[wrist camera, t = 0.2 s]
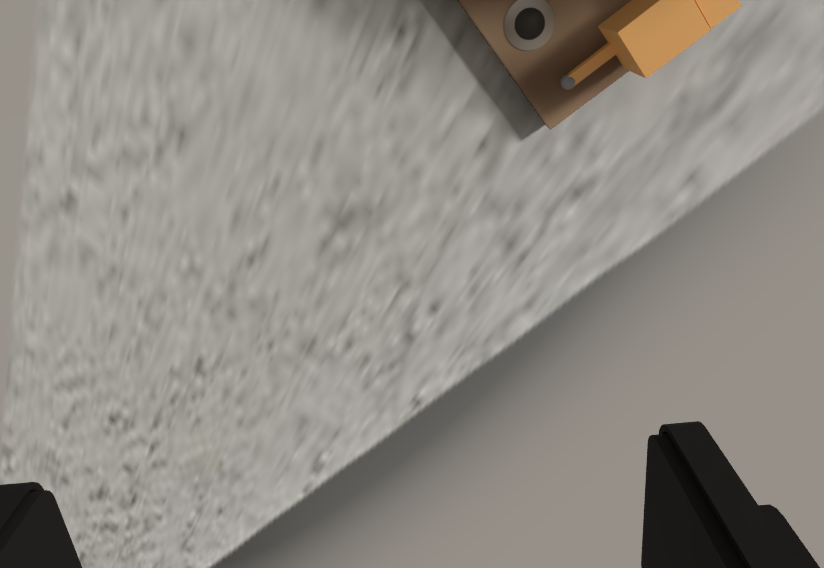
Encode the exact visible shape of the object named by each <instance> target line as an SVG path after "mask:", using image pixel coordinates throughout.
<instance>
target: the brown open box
mask: <svg viewBox="0 0 824 568" xmlns="http://www.w3.org/2000/svg"><path fill="white" fill-rule="evenodd" d="M458 1H459V3H460V4H461V6H462V7H463V8H464V10H465V11H466V13H467V14H468V15H469V17H470V18H471V20H472V21H473V23H474V24H475V25H476V27H477V28H478V30H479V31H480V32H481V34H482V35H483V37H484V38H485V40H486V41H487V42H488V44H489V45H490V47H491V48H492V49H493V51H494V52H495V54H496V55H497V57H498V58H499V59H500V61H501V62H502V64H503V65H504V66H505V68H506V69H507V71H508V72H509V74H510V75H511V76H512V78H513V79H514V81H515V82H516V84H517V85H518V86H519V88H520V89H521V91H522V92H523V93H524V95H525V96H526V98H527V99H528V101H529V102H530V103H531V105H532V106H533V108H534V109H535V110H536V112H537V113H538V115H539V116H540V118H541V119H542V120H543V122H544V123H545V125H546V126H547V127H548V128H549V129H550V130H551V129H552V128H553V127H555V126H556V125H557V124H559V123H560V122H561V121H563V120H564V119H565V118H567V117H568V116H569V115H571V114H572V113H573V112H575V111H576V110H577V109H579V108H580V107H581V106H583V105H584V104H585V103H587V102H588V101H589V100H591V99H592V98H593V97H595V96H596V95H597V94H599V93H600V92H601V91H603V90H604V89H605V88H607V87H608V86H609V85H611V84H612V83H613V82H615V81H616V80H617V79H619V78H620V77H621V76H623V75H624V74H625V73H627V72H628V71H629V70H627V69H625V68H624V67H623V65H622V64H621V62H620V61H619V59H618V58H617V56H616V55H615V56H613V57H612V58H611V59H609V60H608V61H607V62H605V63H604V64H603V65H601V66H600V67H599V68H597V69H596V70H595V71H594V72H592V73H591V74H590V75H588V76H587V77H586V78H584V79H583V80H582V81H580V82H579V83H578V84H576V85H575V86H574V87H573V88H572V89H569V90H566V89H564V88H563V87H562V86H561V79H562V77H563V76H564V75H566V74H568V73H569V72H570V71H572V70H573V69H574V68H576V67H577V66H578V65H580V64H581V63H582V62H583V61H585V60H586V59H587V58H589V57H590V56H591V55H593V54H594V53H595V52H596V51H598V50H599V49H600V48H602V47H603V46H604V45H606V44H607V43H608V42H607V40H606V39H605V37H604V35H603V34H602V32H601V31H600V29H599V28H598V26H599V25H600V24H601V23H603V22H604V21H605V20H607V19H608V18H609V17H610V16H612V15H613V14H614V13H616V12H617V11H618V10H620V9H621V8H622V7H623V6H625V5H626V4H627V3H629V2H630V1H631V0H458Z"/></svg>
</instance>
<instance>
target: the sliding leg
mask: <svg viewBox="0 0 824 568" xmlns="http://www.w3.org/2000/svg"><path fill="white" fill-rule="evenodd" d="M740 7H741V4H740V2H739V1H738V0H631V1H630V2H629V3H627V4H626V5H625V6H623V7H622V8H621V9H620V10H618V11H617V12H616V13H614V14H613V15H612V16H610V17H609V18H608V19H607V20H605V21H604V22H603V23H601V24H600V25H599V26H598V28H599V29H600V31H601V32H602V34H603V35H604V37H605V39H606V40H607V42H608V43H607V44H606V45H604V46H603V47H602V48H600V49H599V50H598V51H596V52H595V53H594V54H593V55H591V56H590V57H589V58H587V59H586V60H585V61H583V62H582V63H581V64H580V65H578V66H577V67H576V68H574V69H573V70H572V71H570V72H569V73H568V74H566V75H564V76H563V77H562V79H561V86H562V87H563V88H564V89H566V90H569V89H572V88H573V87H574V86H575V85H576V84H578V83H579V82H580V81H582V80H583V79H584V78H586V77H587V76H588V75H590V74H591V73H592V72H594V71H595V70H596V69H597V68H599V67H600V66H601V65H603V64H604V63H605V62H607V61H608V60H609V59H611V58H612V57H613V56H615V55H616V56H617V58H618V59H619V61H620V62H621V64H622V65H623V67H624V68H625V69H627V70H629V71H632V72H634V73H636V74H638V75H640V76H642V77H645V78H647V77H648V76H650V75H651V74H652V73H654V72H655V71H656V70H658V69H659V68H660V67H662V66H663V65H665V64H666V63H667V62H669V61H670V60H671V59H673V58H674V57H675V56H677V55H678V54H679V53H681V52H682V51H683V50H685V49H686V48H688V47H689V46H690V45H692V44H693V43H694V42H696V41H697V40H698V39H700V38H701V37H702V36H704V35H705V34H706V33H708V32H709V31H710V30H711V29H710V28H713V27H714V26H715V25H717V24H718V23H719V22H721V21H722V20H723V19H725V18H726V17H727V16H729V15H730V14H731V13H733V12H734V11H735V10H737V9H738V8H740Z"/></svg>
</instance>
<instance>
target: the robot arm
mask: <svg viewBox="0 0 824 568" xmlns="http://www.w3.org/2000/svg"><path fill="white" fill-rule="evenodd" d="M647 450H648V451H647V467H646V486H645V504H644V522H643V541H642V561H641V566H642V568H820V567H819V566H818V564H817V563H816V562H815V560H814V559H813V557H812V556H811V554H810V553H809V552H808V550H807V549H806V548H805V546H804V545H803V543H802V542H801V541H800V539H799V537H798V536H797V535H796V533H795V532H794V530H793V529H792V528H791V526H790V525H789V523H788V522H787V520H786V519H785V518H784V516H783V515H782V514H781V513H780V512H779V511H778V509H777V508H775V507H773V506H771V505H759V506H758V504H757V503H756V501H755V500H754V498H753V497H752V496H751V494H750V493H749V491H748V490H747V488H746V487H745V485H744V484H743V482H742V481H741V479H740V478H739V476H738V475H737V473H736V472H735V470H734V469H733V467H732V466H731V464H730V463H729V462H728V460H727V458H726V457H725V456H724V454H723V453H722V451H721V450H720V448H719V447H718V445H717V444H716V442H715V441H714V440H713V438H712V436H711V435H710V433H709V432H708V430H707V429H706V427H705V426H704V425H703V424H702V423H701V422H698V421H697V422H686V423H675V424H665V425H662V426H661V428H660V430H659V435H651V436H649V439H648V449H647ZM0 568H82V566H81V563H80V561H79V558H78V556H77V553H76V551H75V548H74V545H73V543H72V540H71V538H70V535H69V533H68V530H67V528H66V525H65V522H64V520H63V517H62V515H61V512H60V510H59V507H58V505H57V502H56V500H55V497H54V495H53V494H52V493H51V492H50V491H47V490H44V489H43V487H42V486H41V485H40V484H39V483H36V482H28V483H17V484H6V485H0Z"/></svg>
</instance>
